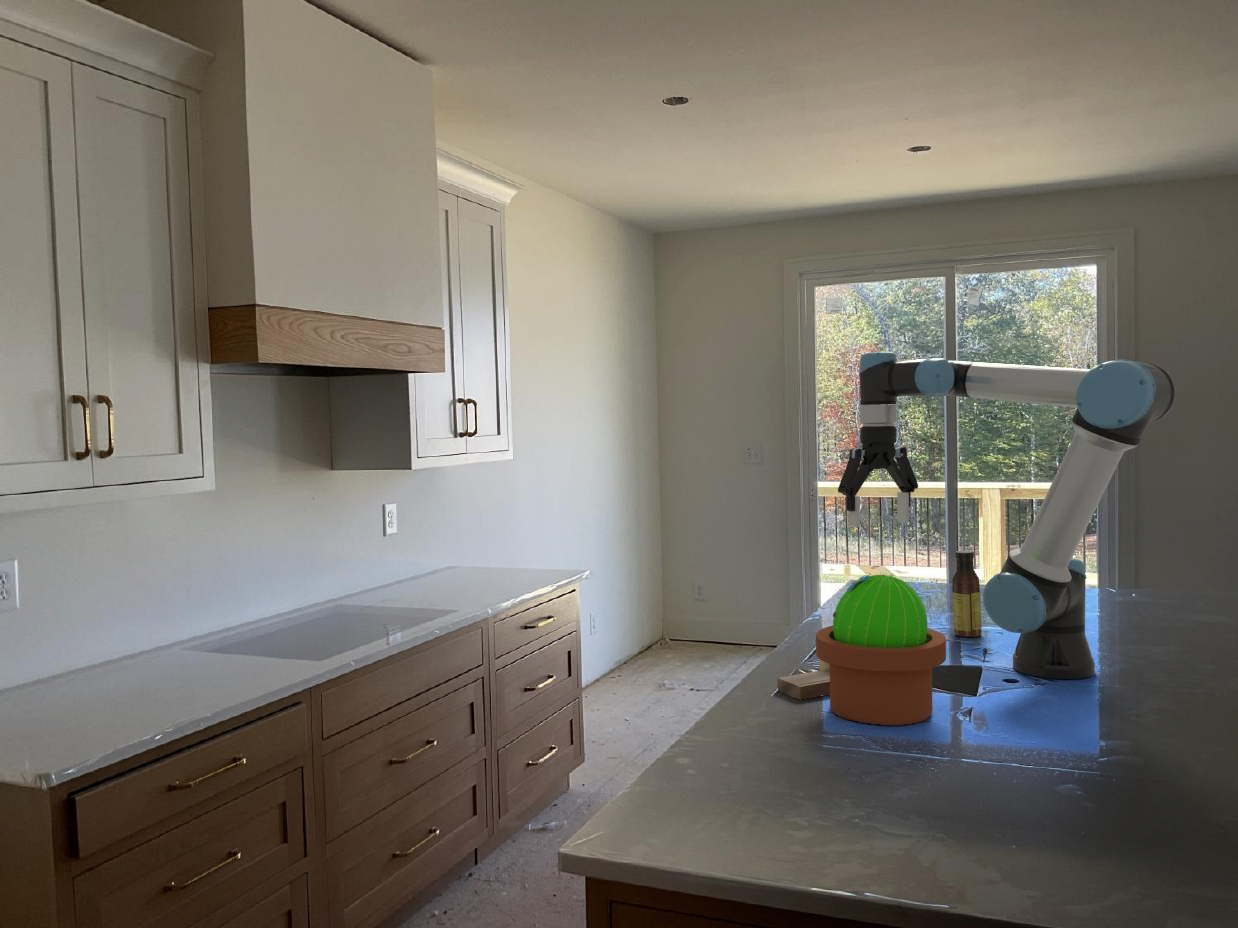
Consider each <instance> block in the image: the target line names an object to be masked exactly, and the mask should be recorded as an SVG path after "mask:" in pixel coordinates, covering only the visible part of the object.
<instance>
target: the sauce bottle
mask: <svg viewBox="0 0 1238 928" xmlns="http://www.w3.org/2000/svg"><path fill="white" fill-rule="evenodd" d="M974 557H975V552H974V551H973V550H969V549H968V550H965V549H963V550H962V549H960V550H957V551H955V558H956V571H955V573H954V574H953V575H954V576H953V577H952V590H951V591H952V613H953V614H952V617H953V628H954V629H953V630H954V634H955V635H956V636H959V637H962V638H978V637H980V636H981V635H982V628H983V623H982V622H983V621H982V619H983V618H982V601H981V596H982V595H981V589H980V588H981V587H980V577H979V576H978V574H977V572H976V571H975V567H974V566H975V565H974Z"/></svg>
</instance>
